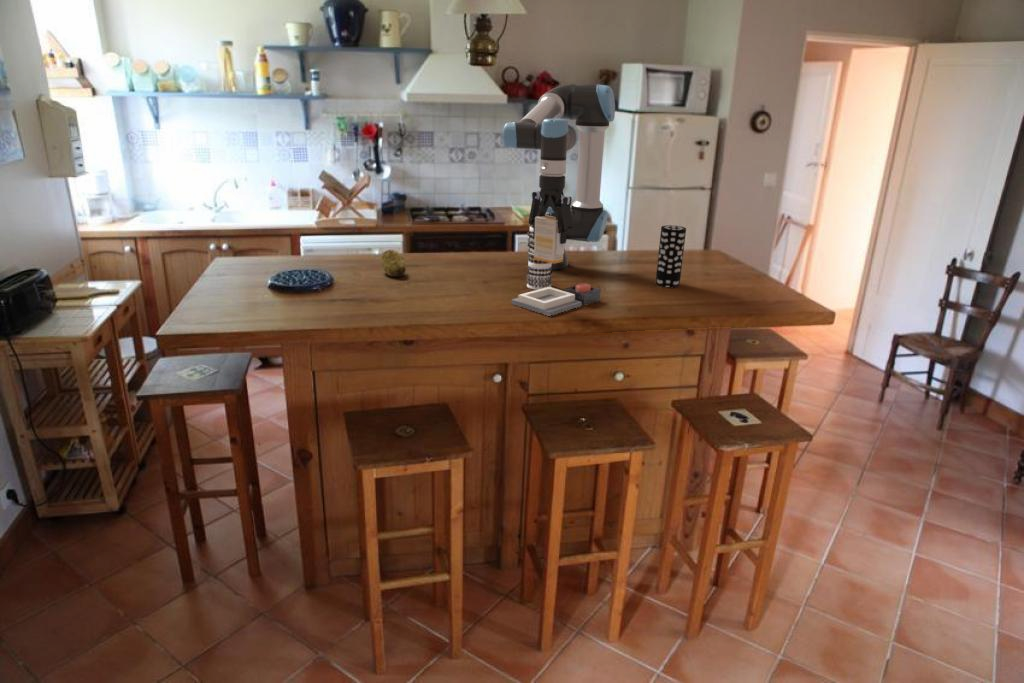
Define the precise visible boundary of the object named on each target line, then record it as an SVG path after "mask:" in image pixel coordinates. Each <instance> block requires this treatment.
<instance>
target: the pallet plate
mask: <svg viewBox="0 0 1024 683" xmlns="http://www.w3.org/2000/svg"><path fill="white" fill-rule="evenodd" d="M510 301H511V305H513V306H516V305H517V306H516V307H519V308H521V307H523V309H524V308H526V309H525V310H527V309H529V310H528V311H530V310H532V311H531V312H533V311H535V312H534V313H536V312H538V313H537V314H539V313H542V314H544V315H543V316H545V315H547V316H546V317H548V316H550V317H552V316H551V315H553V316H555V315H554V314H556V315H558V314H557V313H560V312H563V313H565V312H564V311H566V312H568V311H567V310H569V311H571V310H570V309H573V308H576V309H578V308H577V307H579V308H581V307H580V306H582V302H580V301H576V300H575V294H572V293H569V292H565V290H562V289H559V288H556V287H552V286H551V287H546V288H543V289H539V290H531V291H529V292H528V291H527V292H525V293H521V294H518V296H517V298H512V299H511V300H510ZM582 307H583V306H582ZM573 310H574V309H573ZM542 314H541V315H542ZM560 314H561V313H560Z"/></svg>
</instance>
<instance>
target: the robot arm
mask: <svg viewBox="0 0 1024 683" xmlns="http://www.w3.org/2000/svg"><path fill="white" fill-rule="evenodd" d="M613 90H614V89H613V88H612V87H611V86H610V85H605V84H582V83H581V84H576V83H575V84H573V83H566V84H562V85H558V86H556V87H553V88H552V89H549V90H548V91H546V92H544V94H542V95H541V96H540V97H539V99H538V100H537V104H536V105H535V106H534V107H533V108H532V109H531V110H530V111H529V112H528V113H527V114H526V115H524V116H523V117H522V119H520V120H519V121H518V122H516V121H513V122H506V123H505V125H504V126H503V128H502V142H503V145H504V146H505V147H507V148H511V149H515V150H516V149H520V150H521V149H522V150H523V149H524V150H540V156H539V158H540V160H539V162H540V163H539V173H540V175H539V185H538V187H539V188H540V190H539V191H533V192H531V199H532V201H531V206H530V212H529V218H528V224H529V225H530V224H532V225H533V227H534V234H533V236H534V237H535V217H537V216H539V217H540V216H545V214H546V212H548V213H550V214H551V215H552V217H556V220H558V228H559V232H558V233H557V246H556V255H560V254H563V261H562V262H559V263H554V264H553V263H552V265H551V266H552V270H554V271H555V270H561V269H565V268H567V267H568V265H569V259H568V257H567V253H566V247H565V244H566V243H567V241H568V240H569V241H579V242H587V243H598V242H600V240H601V239H602V238H603V236H604V233H605V229H606V226H607V221H608V211H607V210H604V203H603V202H601V200H600V195H601V182H602V170H603V169H602V167H603V153H604V152H603V151H604V139H605V137H604V136H605V131H606V130H607V129H608V128H609V127H610V123H612V122H613V121H614V120H615V114H616V102H615V100H616V99H615V95H614V91H613ZM568 120H573V121H575V127H576V128H577V129H578V130H579V133H578V131H577V129H576V128H575V127H574V126H573V125H571V124H569V122H568ZM577 142H578V153H577V154H578V155H577V172H576V186H575V189H576V190H575V200H574V201H573V199H572V196H565V194H564V189H565V187H566V176H565V174H566V172H567V170H566V169H567V152H568V151H570V150H572V149H573V147H574V146H576V144H577ZM572 201H573V202H572ZM527 260H528V261H527V262H529V257H528V258H527ZM552 270H551V271H552Z"/></svg>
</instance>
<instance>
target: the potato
mask: <svg viewBox="0 0 1024 683" xmlns="http://www.w3.org/2000/svg"><path fill="white" fill-rule="evenodd" d="M380 264H381V266H382V268H383V269H384V272H385V274H386V275H388V276H389V277H394V278H395V277H396V278H400V277H402V276H403V275H405V274H406V270H407V269H406V265H405V262H404V258H403V256H402V255H401V254H400V253H398V251H397V250H394V249H388V250H385V251H384V252H383V253H382V255H381V258H380Z"/></svg>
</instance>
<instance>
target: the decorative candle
mask: <svg viewBox="0 0 1024 683" xmlns="http://www.w3.org/2000/svg"><path fill="white" fill-rule="evenodd" d="M545 215H547V216H552V215H551V214H550V213H548V212H546V214H545ZM533 234H534V227H533V225H532V224H529V228H527V236H528V237H527V247H528V248H527V253H528V258H529V262H528V261H527V262H528V263H527V264H528V265H527V267H526V268H527V271H526V273H527V275H526V288H528V289H529V290H533V291H535V290H539V289H543V288H546V287H552V284H553V283H552V282H553V281H552V279H553V276H552V274H553V271H552V266H551V265H552V263H549V262H545V261H541V260H536V259H534V238H535V237H534V236H533Z"/></svg>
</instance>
